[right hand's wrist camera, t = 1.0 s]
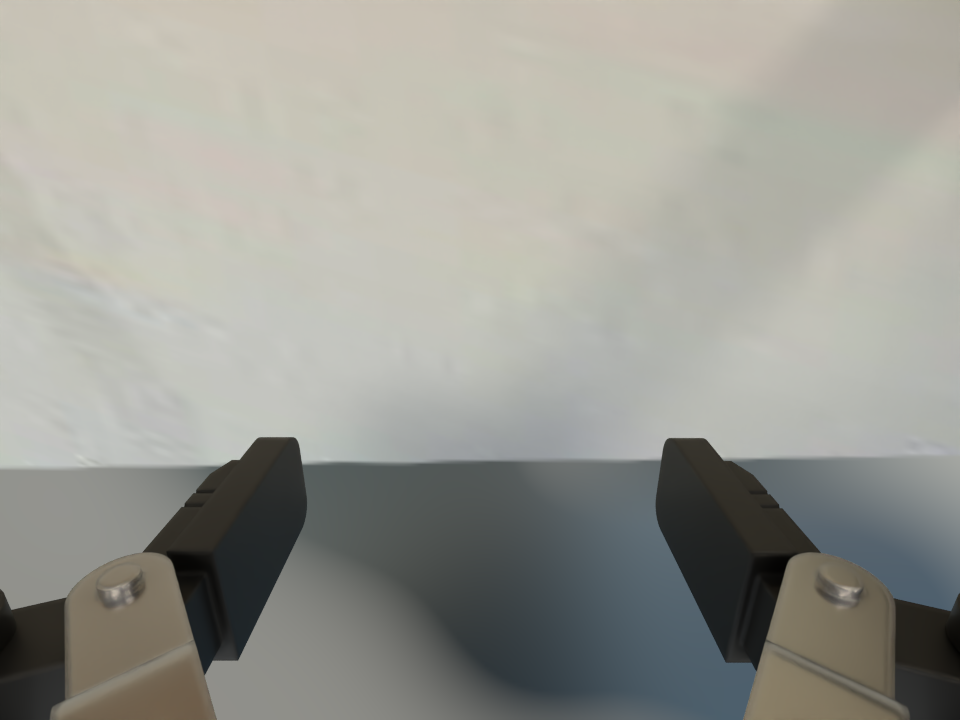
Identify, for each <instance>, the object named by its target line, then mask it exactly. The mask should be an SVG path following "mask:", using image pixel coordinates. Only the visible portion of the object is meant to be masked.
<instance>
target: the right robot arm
mask: <svg viewBox="0 0 960 720" xmlns="http://www.w3.org/2000/svg"><path fill="white" fill-rule="evenodd" d="M306 511H307V496H306V489H305V482H304V475H303V468H302V461H301V454H300V448H299V444H298V441H297V440H296V438H294V437H260V438H258V439H256V440H255V442H254V443H253V444H252V445H251V447H250V448H249V449H248V450H247V451H246V453H245V454H244V455H243V456H242V458H241V459H240V460H231V461H230V462H228V463H227V464H225V465H224V466H222V467H220V468H219V469H217V470H216V471H214V472H213V473H211V474H210V475H209V476H208V477H207V478H206V479H205V481H204V482H203V483H202V484H201V485H200V486H199V488H198V489H197V490H196V493H194V494H193V495H192V496H191V497H190V498H189V499H188V500H187V501H186V503H185V506H184V507H181V508H180V510H179V511H178V512H177V513H176V514H175V515H174V517H173V518H172V519H171V520H170V521H169V522H168V523H167V525H166V526H165V527H164V528H163V529H162V530H161V532H160V533H159V534H158V535H157V536H156V537H155V538H154V540H153V541H152V542H151V543H150V544H149V545H148V547H147V548H146V549H145V550H144V551H143V552H142V553H137V554H132V555H127V556H124V557H121V558H118V559H115V560H113V561H110V562H108V563H106V564H104V565H102V566H100V567H98V568H97V569H95V570H93V571H92V572H90V573H89V574H88V575H86V576H85V577H84V578H82V579H81V580H80V581H79V582H78V583H77V584H76V585H75V586H74V587H73V588H72V590H71V591H70V593H69V594H68V596H67V598H63V599H58V600H54V601H49V602H45V603H40V604H36V605H32V606H27V607H23V608H18V609H14V610H11V609H10V606H9V604H8V602H7V599H6V597H5V595H4V593H3V591H2V590H0V720H217V719H216V715H215V712H214V708H213V705H212V701H211V697H210V694H209V690H208V687H207V683H206V680H205V674H206V672H207V670H208V668H209V666H210V664H211V663H212V661H213V660H238V659H239V657H240V655H241V653H242V651H243V649H244V647H245V645H246V643H247V641H248V639H249V637H250V635H251V633H252V631H253V629H254V626H255V624H256V622H257V620H258V618H259V616H260V614H261V612H262V610H263V608H264V606H265V604H266V602H267V600H268V598H269V596H270V594H271V592H272V589H273V587H274V585H275V583H276V581H277V579H278V577H279V575H280V573H281V571H282V569H283V567H284V565H285V563H286V560H287V559H288V556H289V554H290V552H291V550H292V548H293V546H294V544H295V542H296V540H297V538H298V536H299V534H300V532H301V530H302V528H303V525H304V522H305V517H306ZM656 515H657V520H658V524H659V527H660V529H661V531H662V533H663V535H664V537H665V540H666V542H667V544H668V546H669V548H670V550H671V552H672V554H673V556H674V558H675V560H676V562H677V564H678V566H679V568H680V570H681V572H682V574H683V576H684V578H685V580H686V582H687V584H688V586H689V588H690V590H691V592H692V594H693V596H694V598H695V601H696V603H697V605H698V607H699V609H700V611H701V613H702V615H703V617H704V619H705V621H706V623H707V625H708V627H709V629H710V631H711V633H712V635H713V637H714V639H715V641H716V643H717V645H718V647H719V649H720V651H721V653H722V655H723V658H724V660H725V662H727V663H729V662H730V663H731V662H733V663H736V662H737V663H741V662H742V663H745V662H746V663H749V662H750V663H752V664H753V666H754V668H755V670H756V671H757V672H756V676H755V680H754V683H753V687H752V690H751V694H750V698H749V701H748V705H747V708H746V712H745V715H744V719H743V720H960V594H959V595H958V597H957V599H956V601H955V604H954V606H953V608H952V611H947V610H942V609H938V608H934V607H929V606H925V605H920V604H916V603H911V602H907V601H903V600H898V599H895V598H893V596H892V594H891V593H890V591H889V590H888V588H887V587H886V586H885V585H884V584H883V583H882V582H881V581H880V580H879V579H877V578H876V577H875V576H874V575H872V574H871V573H870V572H868V571H867V570H865V569H863V568H862V567H860V566H858V565H856V564H854V563H852V562H850V561H847V560H845V559H842V558H839V557H836V556H832V555H828V554H823V553H821V552H820V551H819V550H818V549H817V548H816V547H815V545H814V544H813V543H812V542H811V541H810V540H809V538H808V537H807V536H806V535H805V534H804V533H803V532H802V530H801V529H800V528H799V527H798V526H797V525H796V524H795V522H794V521H793V520H792V519H791V518H790V517H789V516H788V514H787V513H786V512H785V511H784V510H783V509H782V508H779V504H778V503H777V502H776V501H775V500H774V498H773V497H772V496H771V495H768V494H767V490H766V489H765V488H764V487H763V486H762V485H761V483H760V482H759V481H758V480H757V479H756V478H755V477H754V475H752V474H751V473H749V472H748V471H746V470H744V469H743V468H741V467H740V466H738V465H737V464H735V463H733V462H732V461H723V460H722V458H721V457H720V456H719V455H718V453H717V452H716V451H715V450H714V448H713V447H712V446H711V445H710V444H709V442H708V441H707V440H706V439H704V438H669V439H667V440H666V442H665V444H664V447H663V454H662V460H661V467H660V474H659V481H658V488H657V495H656Z"/></svg>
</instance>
